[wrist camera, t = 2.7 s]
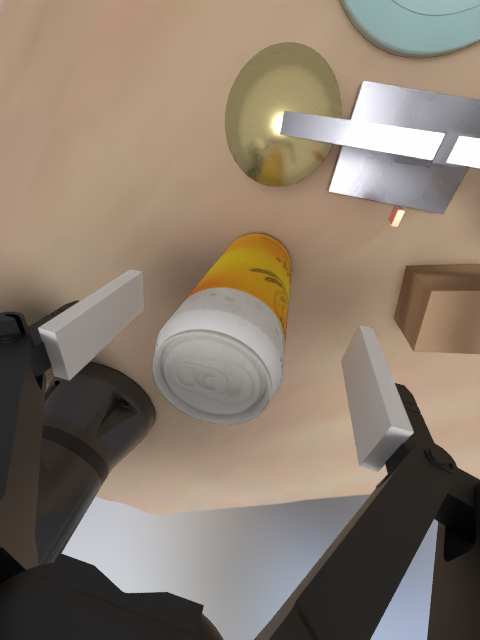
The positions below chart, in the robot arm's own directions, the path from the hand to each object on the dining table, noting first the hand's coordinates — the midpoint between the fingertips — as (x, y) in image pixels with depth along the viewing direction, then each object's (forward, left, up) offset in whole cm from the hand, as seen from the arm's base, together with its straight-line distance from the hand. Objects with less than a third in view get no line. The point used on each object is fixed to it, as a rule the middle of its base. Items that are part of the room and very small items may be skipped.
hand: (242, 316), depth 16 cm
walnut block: (+15, +1, -10) cm, 17 cm away
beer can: (0, 0, -10) cm, 10 cm away
